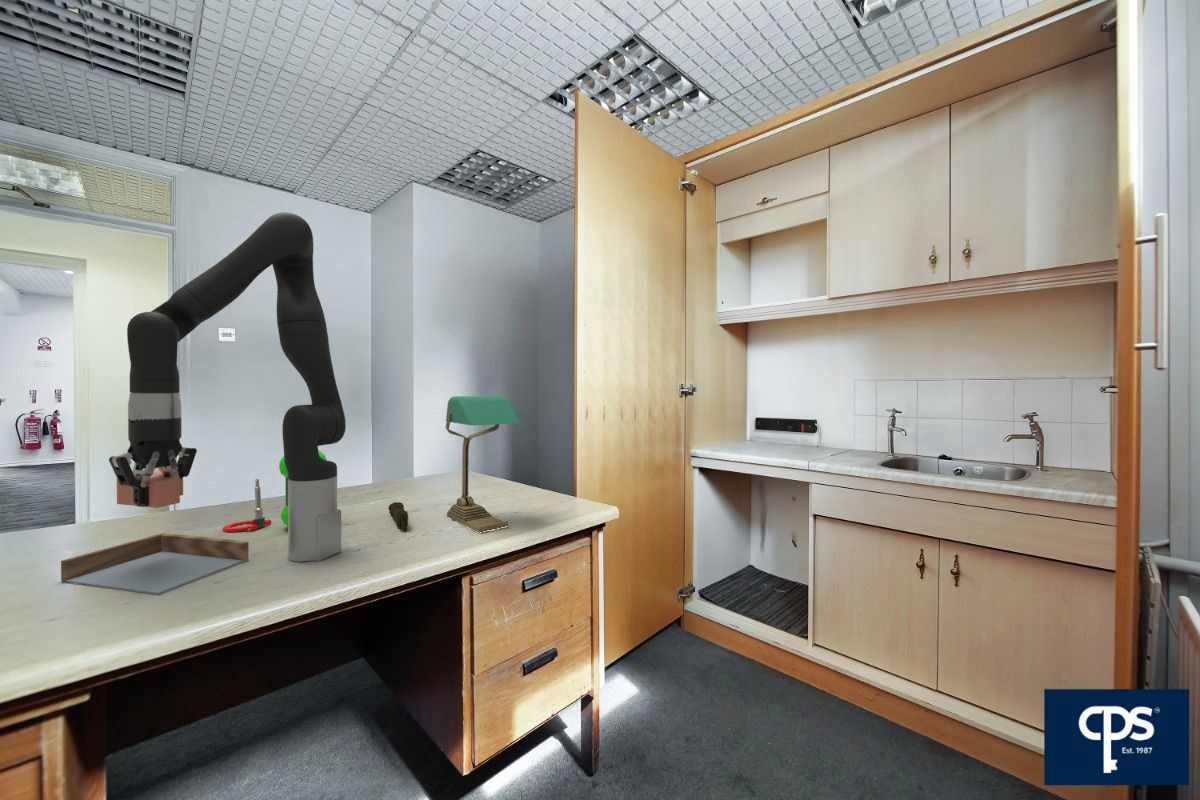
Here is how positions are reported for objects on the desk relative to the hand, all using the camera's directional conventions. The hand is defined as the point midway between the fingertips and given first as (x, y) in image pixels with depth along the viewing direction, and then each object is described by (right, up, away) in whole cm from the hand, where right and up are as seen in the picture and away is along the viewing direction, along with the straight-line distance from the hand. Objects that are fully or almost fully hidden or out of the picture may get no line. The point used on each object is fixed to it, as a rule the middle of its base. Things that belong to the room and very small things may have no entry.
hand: (156, 502), depth 91 cm
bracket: (-1, 0, +3) cm, 3 cm away
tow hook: (-5, -13, +30) cm, 33 cm away
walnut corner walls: (-1, -14, +2) cm, 14 cm away
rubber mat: (-1, -14, +2) cm, 14 cm away
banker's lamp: (+53, -14, +37) cm, 67 cm away
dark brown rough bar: (+33, -14, +36) cm, 51 cm away
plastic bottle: (+9, -13, +31) cm, 35 cm away
